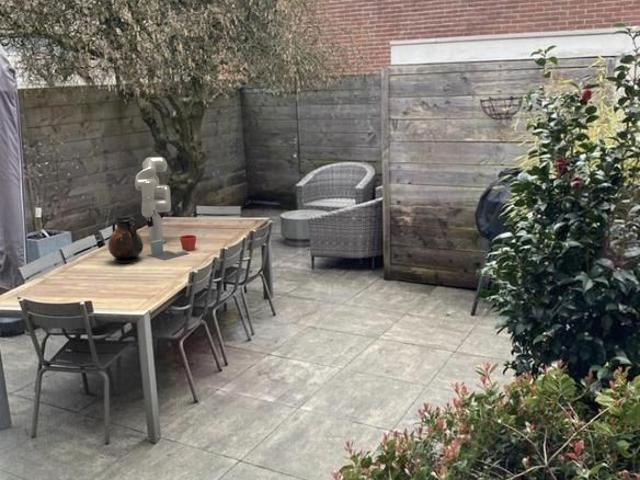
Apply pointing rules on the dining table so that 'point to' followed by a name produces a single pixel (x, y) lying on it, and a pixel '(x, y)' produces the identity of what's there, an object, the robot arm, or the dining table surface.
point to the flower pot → (188, 242)
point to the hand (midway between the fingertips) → (150, 226)
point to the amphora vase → (125, 241)
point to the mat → (167, 256)
